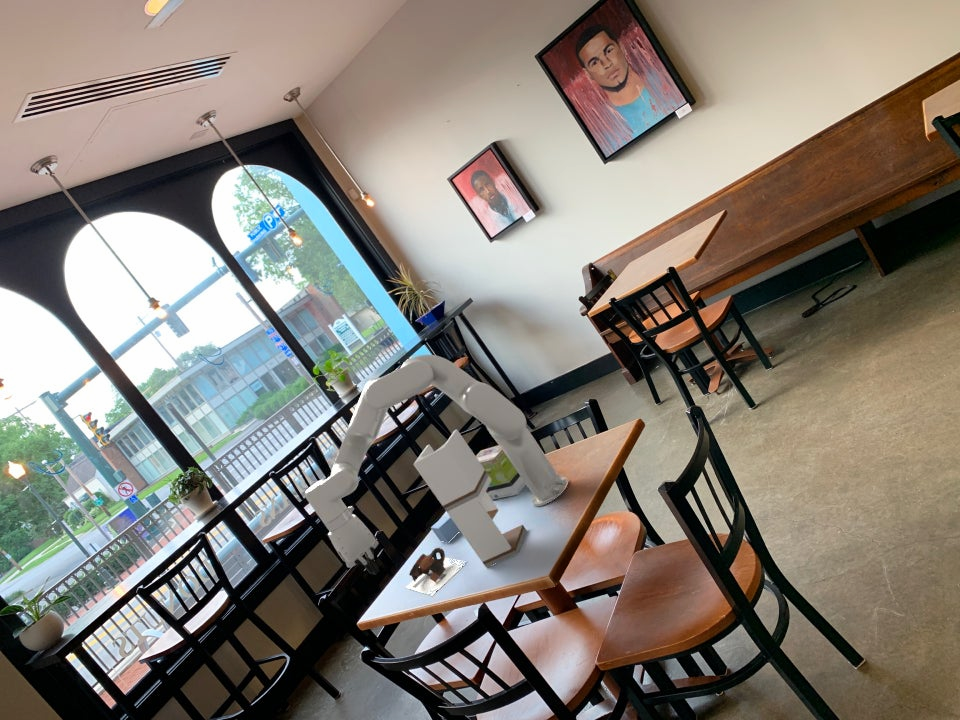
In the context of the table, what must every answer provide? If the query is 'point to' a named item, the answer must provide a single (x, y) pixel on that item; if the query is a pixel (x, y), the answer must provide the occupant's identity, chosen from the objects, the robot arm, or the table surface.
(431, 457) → the notched white pillar
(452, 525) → the slate blue cube
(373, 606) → the table surface
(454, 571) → the letter mat
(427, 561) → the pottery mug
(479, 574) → the table surface
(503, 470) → the tea box
